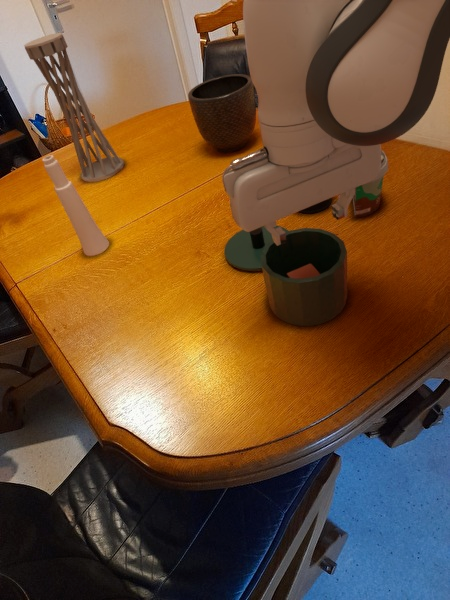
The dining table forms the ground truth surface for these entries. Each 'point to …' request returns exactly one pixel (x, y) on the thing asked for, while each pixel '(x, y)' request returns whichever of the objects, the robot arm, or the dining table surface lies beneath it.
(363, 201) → the food container
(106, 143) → the lattice tower
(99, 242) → the cosmetic bottle
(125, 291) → the dining table surface
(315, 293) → the tin
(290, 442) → the dining table surface
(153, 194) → the dining table surface
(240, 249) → the lid
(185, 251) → the dining table surface
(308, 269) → the block
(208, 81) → the planter
